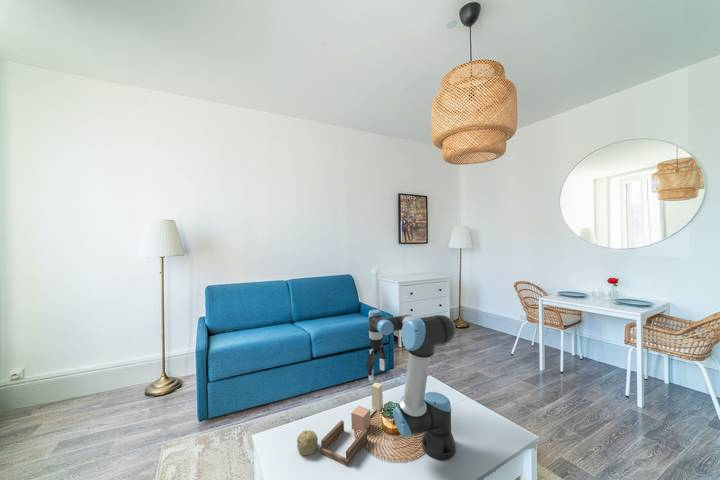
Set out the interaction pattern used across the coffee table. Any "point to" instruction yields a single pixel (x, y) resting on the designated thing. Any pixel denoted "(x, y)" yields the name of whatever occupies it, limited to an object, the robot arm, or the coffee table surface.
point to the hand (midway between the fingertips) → (376, 375)
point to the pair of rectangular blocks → (363, 414)
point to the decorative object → (307, 442)
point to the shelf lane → (350, 452)
